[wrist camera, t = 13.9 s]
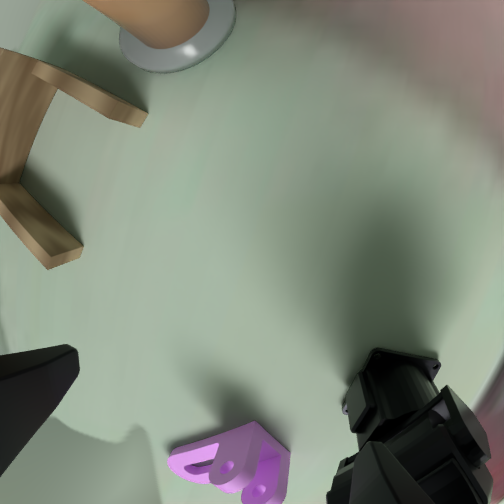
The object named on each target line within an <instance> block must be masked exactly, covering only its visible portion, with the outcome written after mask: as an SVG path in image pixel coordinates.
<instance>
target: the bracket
mask: <svg viewBox="0 0 504 504" xmlns="http://www.w3.org/2000/svg"><path fill="white" fill-rule="evenodd" d="M290 454H291V453H290V452H289V451H288V450H287V449H286V448H284V447H283V446H282V445H281V444H280V443H279V442H278V441H277V440H275V439H274V438H273V437H272V436H271V435H270V434H269V433H268V432H267V431H266V430H265V429H264V428H263V427H262V426H260V425H259V424H258V423H257V422H256V421H253V422H250V423H248V424H245V425H243V426H240V427H237V428H235V429H232V430H229V431H227V432H224V433H221V434H218V435H215V436H212V437H209V438H206V439H203V440H200V441H197V442H194V443H190V444H187V445H184V446H180V447H177V448H175V449H173V450H172V452H171V454H170V456H169V458H168V460H167V463H168V466H169V467H170V469H171V470H172V471H173V472H174V473H175V474H177V475H178V476H180V477H182V478H184V479H186V480H188V481H191V482H195V483H200V484H208V483H212V484H213V485H215V486H216V487H218V488H219V489H220V490H222V491H223V492H225V493H235V492H238V491H240V490H242V489H243V491H242V495H241V500H242V503H243V504H282V502H283V501H284V499H285V497H286V493H287V484H288V474H289V465H290ZM210 459H214V461H213V463H212V464H211V465H207V466H202V467H196V466H193V465H191V464H194V463H198V462H203V461H206V460H210Z"/></svg>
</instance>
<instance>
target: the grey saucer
mask: <svg viewBox="0 0 504 504" xmlns="http://www.w3.org/2000/svg"><path fill="white" fill-rule="evenodd" d="M207 1H208V4H209V8H210V11H209V16H208V19H207V21H206V23H205V25H204V26H203V27H202V29H201V30H200V31H199V32H198V33H197V34H196V35H195V36H193V37H192V38H191V39H189V40H188V41H186V42H184V43H182V44H180V45H178V46H175V47H172V48H167V49H154V48H150V47H148V46H146V45H145V44H143V43H142V42H141V41H139V40H138V39H137V38H136V37H134V36H133V35H132V34H130V33H129V32H127V31H126V30H125V29H123V28H122V27H121V29H120V34H119V44H120V48H121V51H122V53H123V55H124V56H125V57H126V58H127V59H128V60H129V61H130V62H132V63H133V64H135V65H136V66H138V67H139V68H141V69H143V70H145V71H148V72H152V73H172V72H177V71H181V70H184V69H187V68H190V67H192V66H194V65H196V64H198V63H200V62H202V61H203V60H205V59H206V58H208V57H209V56H211V55H212V54H213V53H214V52H215V51H217V50H218V49H219V48H220V47H221V46H222V45H223V43H224V42H225V41H226V40H227V38H228V37H229V35H230V33H231V32H232V29H233V27H234V24H235V20H236V8H235V5H234V2H233V0H207Z"/></svg>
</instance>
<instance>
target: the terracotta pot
mask: <svg viewBox="0 0 504 504" xmlns="http://www.w3.org/2000/svg"><path fill="white" fill-rule="evenodd" d="M83 1H84V2H86V3H87V4H89V5H90V6H92V7H93V8H95V9H96V10H98V11H99V12H101V13H102V14H104V15H105V16H107V17H108V18H109V19H111V20H112V21H114V22H115V23H116V24H118V25H119V26H121V27H122V28H123V29H125V30H126V31H127V32H129V33H130V34H132V35H133V36H134V37H136V38H137V39H138V40H139V41H141V42H142V43H143V44H145V45H146V46H148V47H150V48H154V49H167V48H172V47H175V46H178V45H180V44H182V43H184V42H186V41H188V40H189V39H191V38H192V37H193V36H195V35H196V34H197V33H198V32H199V31H200V30H201V29H202V27H203V26H204V25H205V23H206V21H207V19H208V16H209V11H210V8H209V4H208V1H207V0H83Z"/></svg>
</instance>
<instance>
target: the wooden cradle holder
mask: <svg viewBox="0 0 504 504" xmlns="http://www.w3.org/2000/svg"><path fill="white" fill-rule="evenodd" d="M57 89H60V90H62V91H63V92H65V93H67V94H68V95H70V96H72V97H74V98H75V99H77V100H79V101H80V102H82V103H84V104H85V105H87V106H89V107H90V108H92V109H94V110H95V111H97V112H99V113H100V114H102V115H104V116H105V117H107V118H109V119H112V120H116V121H119V122H122V123H126V124H129V125H132V126H135V127H139V128H140V127H141V125H142V124H143V122H144V120H145V119H146V117H147V115H148V113H146V112H145V111H143V110H141V109H139V108H138V107H136V106H134V105H132V104H130V103H128V102H127V101H125V100H123V99H121V98H119V97H117V96H116V95H114V94H112V93H110V92H108V91H106V90H104V89H102V88H100V87H98V86H97V85H95V84H93V83H91V82H89V81H87V80H85V79H83V78H81V77H79V76H77V75H75V74H73V73H71V72H69V71H67V70H64V69H62V68H60V67H57V66H55V65H52V64H49V63H46V62H44V61H41V60H38V59H35V58H32V57H29V56H26V55H23V54H20V53H17V52H14V51H10V50H7V49H4V48H0V215H1V217H2V218H3V219H4V220H5V222H6V223H7V224H8V225H9V227H10V228H11V229H12V230H13V232H14V233H15V234H16V235H17V236H18V238H19V239H20V240H21V241H22V242H23V243H24V245H25V246H26V247H27V248H28V249H29V250H30V251H31V253H32V254H33V255H34V256H35V257H36V258H37V259H38V260H39V261H40V262H41V264H42V265H43V266H44V267H45V268H46V269H47V270H49V269H52V268H54V267H57V266H59V265H62V264H65V263H67V262H70V261H73V260H75V259H78V258H80V255H81V253H82V250H83V247H84V246H83V245H82V244H80V243H79V242H78V241H77V240H76V239H75V238H74V237H73V236H72V235H71V234H70V233H69V232H67V231H66V230H65V229H64V228H63V227H62V226H61V225H60V224H59V223H58V222H57V221H56V220H55V219H54V218H53V217H52V216H51V215H50V214H49V213H48V212H47V211H46V210H45V209H44V208H43V207H42V206H41V205H40V204H39V203H38V202H37V201H36V200H35V199H34V198H33V197H32V196H31V195H30V194H29V193H28V192H27V191H26V190H25V189H24V187H23V186H22V185H21V184H20V183H19V181H20V178H21V175H22V172H23V169H24V166H25V163H26V160H27V157H28V155H29V152H30V149H31V146H32V144H33V141H34V139H35V136H36V134H37V131H38V129H39V127H40V124H41V122H42V120H43V118H44V115H45V113H46V111H47V109H48V107H49V105H50V103H51V101H52V99H53V97H54V95H55V93H56V91H57Z"/></svg>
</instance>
